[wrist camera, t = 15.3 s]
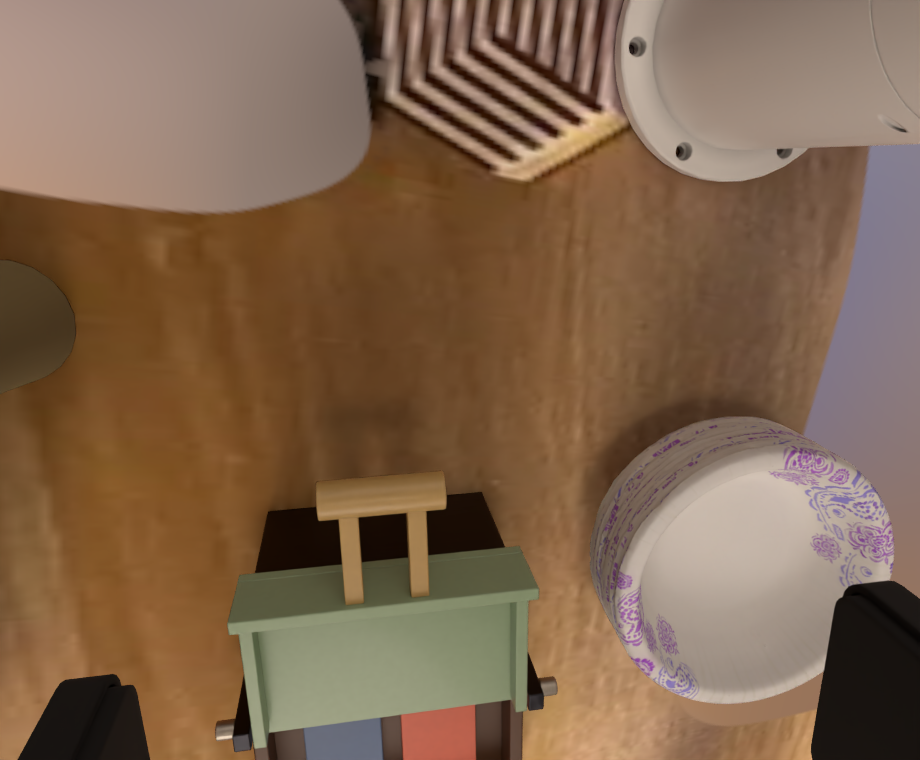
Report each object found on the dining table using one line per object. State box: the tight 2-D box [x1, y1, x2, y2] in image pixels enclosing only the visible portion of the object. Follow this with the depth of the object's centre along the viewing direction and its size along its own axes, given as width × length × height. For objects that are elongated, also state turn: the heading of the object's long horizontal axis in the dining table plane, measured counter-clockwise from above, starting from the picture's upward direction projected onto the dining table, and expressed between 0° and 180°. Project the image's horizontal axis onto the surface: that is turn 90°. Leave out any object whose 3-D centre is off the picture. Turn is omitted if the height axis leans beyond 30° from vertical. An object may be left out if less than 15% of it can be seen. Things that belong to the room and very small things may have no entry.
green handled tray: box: [227, 471, 539, 749], centre depth 31 cm, size 13×14×4 cm
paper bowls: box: [590, 417, 894, 704], centre depth 39 cm, size 15×15×8 cm
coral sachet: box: [400, 705, 476, 760], centre depth 43 cm, size 5×6×1 cm
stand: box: [215, 492, 558, 752], centre depth 37 cm, size 17×9×8 cm, turn 91°
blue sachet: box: [303, 718, 384, 760], centre depth 42 cm, size 5×6×1 cm
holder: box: [253, 700, 523, 760], centre depth 42 cm, size 16×12×3 cm
